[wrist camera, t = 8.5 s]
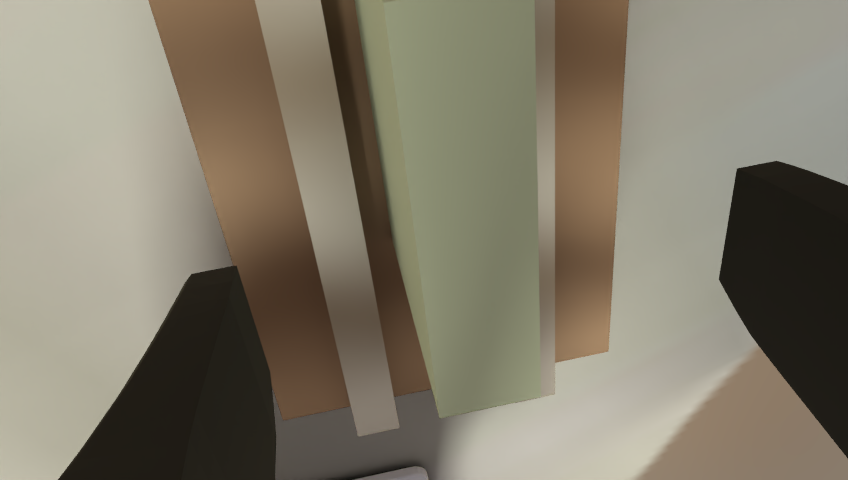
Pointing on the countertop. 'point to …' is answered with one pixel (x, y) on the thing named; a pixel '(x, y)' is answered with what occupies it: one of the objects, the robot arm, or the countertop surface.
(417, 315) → the pale green rectangular block
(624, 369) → the countertop surface
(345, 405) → the track board
